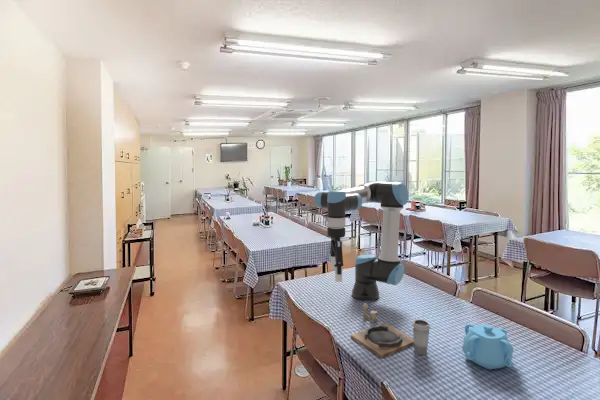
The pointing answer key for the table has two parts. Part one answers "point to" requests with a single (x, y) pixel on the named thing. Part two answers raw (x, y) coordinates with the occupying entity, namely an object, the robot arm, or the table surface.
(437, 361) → the table surface
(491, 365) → the decorative pot
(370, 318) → the bone
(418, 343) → the cup
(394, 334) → the ring holder
